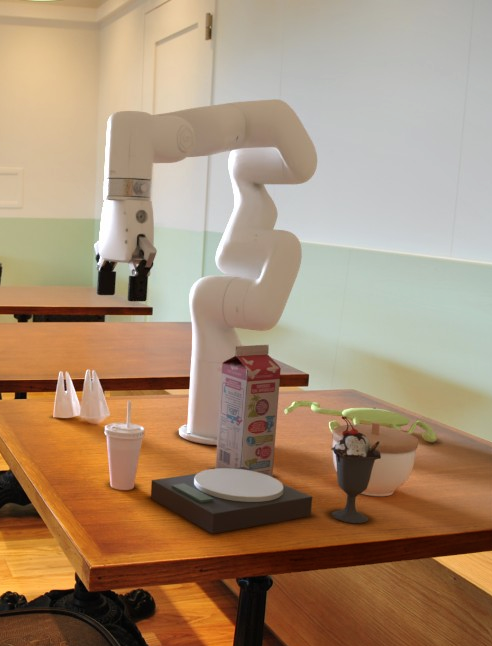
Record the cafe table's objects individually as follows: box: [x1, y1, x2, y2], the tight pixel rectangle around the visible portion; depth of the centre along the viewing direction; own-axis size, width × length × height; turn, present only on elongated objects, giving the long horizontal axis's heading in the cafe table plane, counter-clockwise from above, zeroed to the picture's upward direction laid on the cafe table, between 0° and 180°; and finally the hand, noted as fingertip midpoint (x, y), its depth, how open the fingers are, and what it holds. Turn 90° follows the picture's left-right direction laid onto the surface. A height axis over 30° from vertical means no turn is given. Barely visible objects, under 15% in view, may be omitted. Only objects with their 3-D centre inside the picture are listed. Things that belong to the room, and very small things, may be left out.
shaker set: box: [52, 369, 111, 425], centre depth 172 cm, size 12×4×11 cm, turn 53°
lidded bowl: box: [331, 422, 419, 497], centre depth 134 cm, size 13×13×11 cm
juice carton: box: [215, 344, 282, 477], centre depth 139 cm, size 7×7×22 cm
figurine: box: [283, 400, 437, 443], centre depth 167 cm, size 18×27×6 cm
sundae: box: [330, 416, 381, 524], centre depth 121 cm, size 7×7×15 cm
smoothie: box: [103, 400, 146, 491], centre depth 132 cm, size 6×6×14 cm
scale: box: [150, 467, 313, 535], centre depth 125 cm, size 18×15×4 cm
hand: (120, 298), depth 136 cm, fingers open, 9 cm apart
